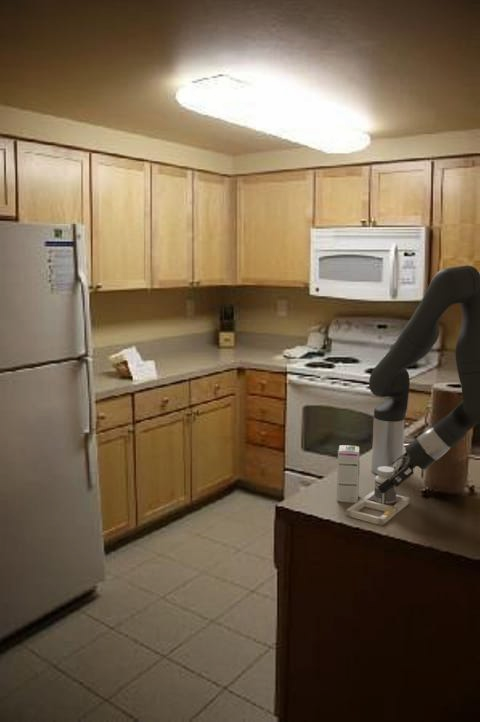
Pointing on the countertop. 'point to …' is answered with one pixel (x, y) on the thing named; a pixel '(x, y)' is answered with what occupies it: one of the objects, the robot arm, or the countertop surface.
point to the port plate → (368, 502)
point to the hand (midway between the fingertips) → (381, 485)
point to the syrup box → (348, 473)
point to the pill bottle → (389, 495)
